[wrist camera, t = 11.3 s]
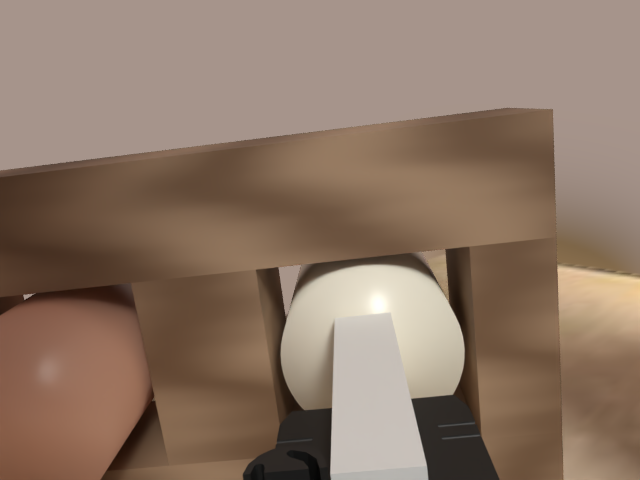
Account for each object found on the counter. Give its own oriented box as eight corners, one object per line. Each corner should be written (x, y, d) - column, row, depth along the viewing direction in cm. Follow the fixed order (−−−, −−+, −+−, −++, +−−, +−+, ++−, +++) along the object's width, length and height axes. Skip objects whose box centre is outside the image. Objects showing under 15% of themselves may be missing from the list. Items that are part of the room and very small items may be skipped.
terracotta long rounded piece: (210, 356, 23) (188, 237, 22) (128, 511, 14) (85, 326, 13) (91, 368, 23) (63, 251, 22) (-61, 526, 15) (-118, 347, 13)
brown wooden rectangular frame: (515, 514, 23) (494, 107, 19) (588, 690, 16) (577, 110, 12) (-140, 564, 25) (-273, 202, 21) (-325, 740, 18) (-568, 250, 14)
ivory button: (425, 314, 25) (415, 200, 23) (470, 429, 16) (458, 258, 15) (311, 325, 25) (296, 214, 24) (293, 445, 16) (268, 278, 15)
